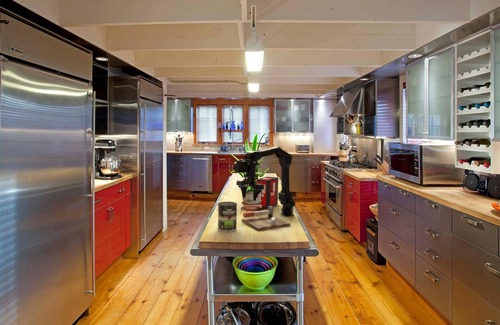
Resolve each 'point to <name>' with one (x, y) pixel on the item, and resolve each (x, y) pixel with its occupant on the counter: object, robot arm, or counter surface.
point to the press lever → (259, 212)
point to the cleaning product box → (269, 191)
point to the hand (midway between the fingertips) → (248, 199)
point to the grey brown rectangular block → (273, 221)
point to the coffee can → (227, 216)
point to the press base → (265, 222)
